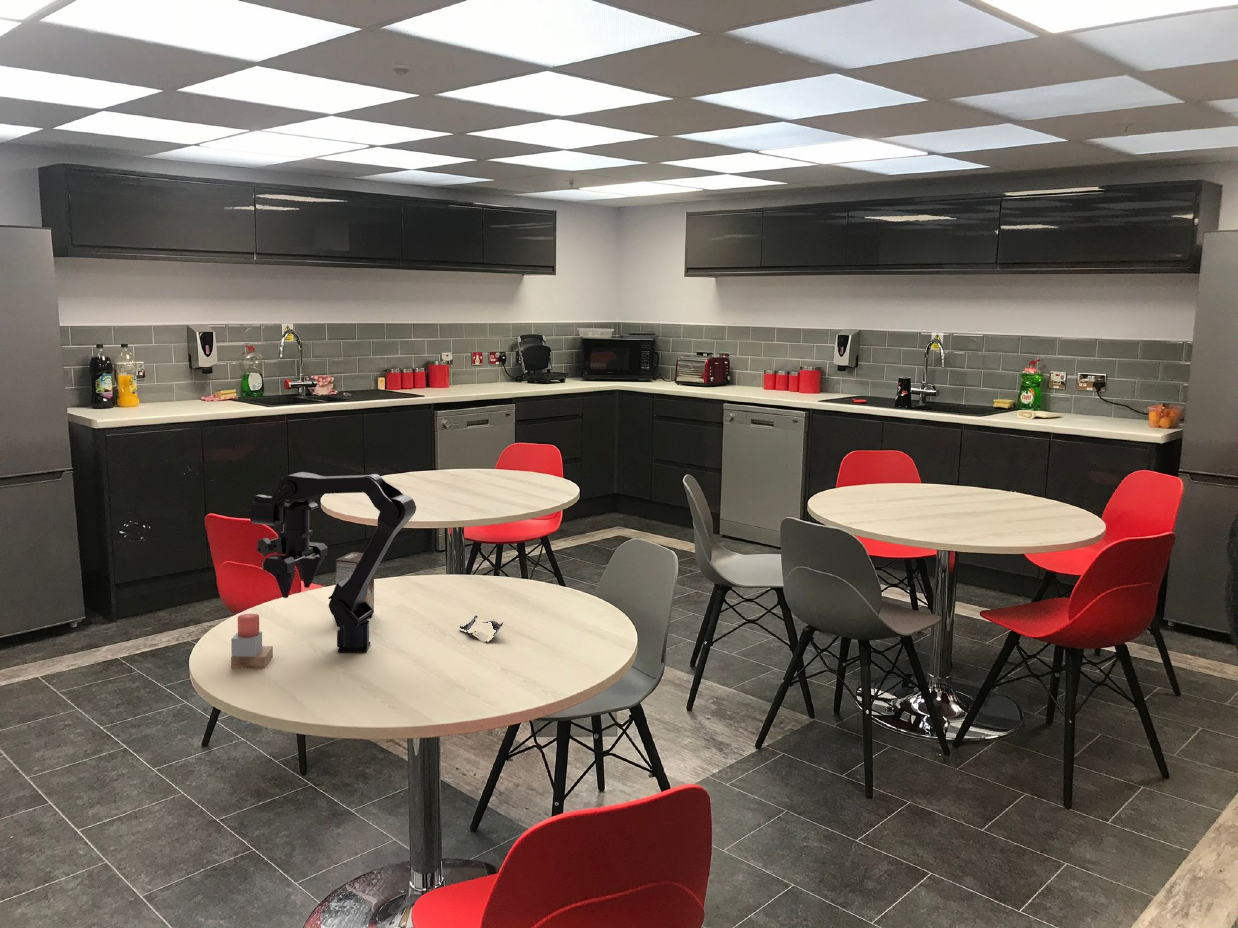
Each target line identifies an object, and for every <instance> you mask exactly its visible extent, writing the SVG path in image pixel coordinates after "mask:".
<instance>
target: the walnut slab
mask: <svg viewBox="0 0 1238 928" xmlns="http://www.w3.org/2000/svg"><path fill="white" fill-rule="evenodd" d="M273 649H274V646H273V645H262V650H261V651H260V652H259V653H258V654H257V656H256V657H232V655H231V657H230V665H231V666H230V669H266V668H267V666H268V665H269V663H270V661H271V660H272V659H273V658H274V655H273V654H274V653H273V651H274V650H273Z"/></svg>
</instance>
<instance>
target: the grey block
mask: <svg viewBox="0 0 1238 928" xmlns="http://www.w3.org/2000/svg"><path fill="white" fill-rule="evenodd" d="M230 641H231V643H230V646H231V656H232V657H256V656H257V654H258V653H259V652H260V651H261V650H262V646H263V631H259V635H257V636H254V637H239V636H238V631H237V632H236V633H235V634H234V636H232V638H231V640H230Z"/></svg>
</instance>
